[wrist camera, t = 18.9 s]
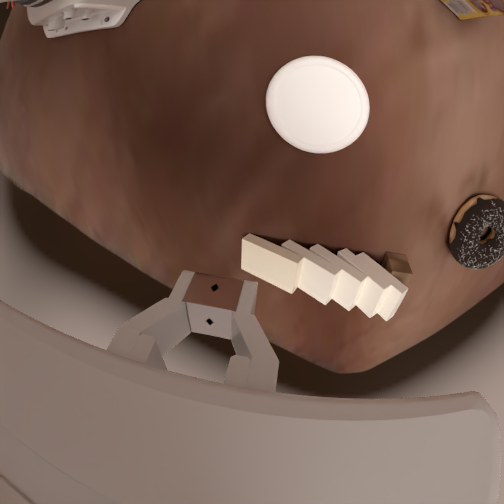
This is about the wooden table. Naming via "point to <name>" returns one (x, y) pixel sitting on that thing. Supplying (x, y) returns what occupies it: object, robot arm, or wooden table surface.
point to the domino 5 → (395, 291)
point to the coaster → (317, 104)
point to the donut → (478, 232)
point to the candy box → (475, 8)
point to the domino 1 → (271, 262)
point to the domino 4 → (367, 284)
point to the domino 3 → (343, 278)
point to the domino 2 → (315, 273)
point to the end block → (397, 267)
